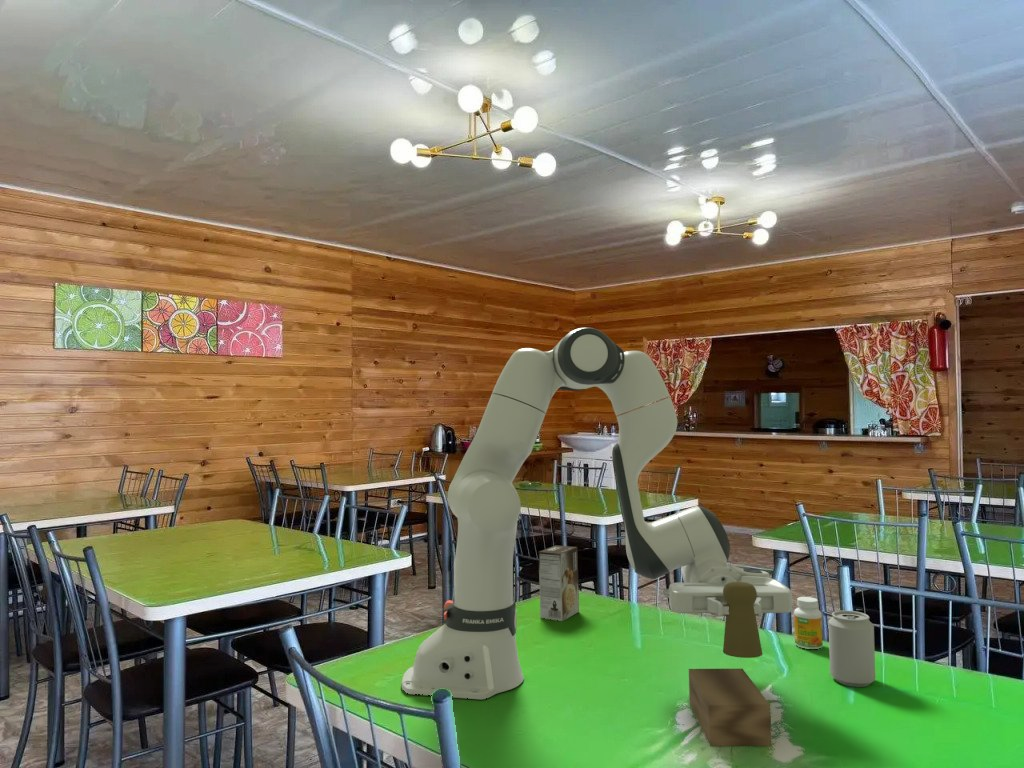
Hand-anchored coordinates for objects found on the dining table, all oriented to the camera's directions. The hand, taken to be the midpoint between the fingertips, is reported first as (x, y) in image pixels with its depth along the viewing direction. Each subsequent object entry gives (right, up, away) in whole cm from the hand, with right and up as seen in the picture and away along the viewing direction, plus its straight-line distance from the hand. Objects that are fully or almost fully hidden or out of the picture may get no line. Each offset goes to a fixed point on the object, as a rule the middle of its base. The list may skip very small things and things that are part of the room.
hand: (740, 611), depth 117 cm
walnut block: (-2, -18, -1) cm, 18 cm away
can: (+25, -18, +16) cm, 35 cm away
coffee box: (-25, -20, +61) cm, 69 cm away
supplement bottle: (+25, -18, +35) cm, 47 cm away
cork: (0, -7, 0) cm, 7 cm away
